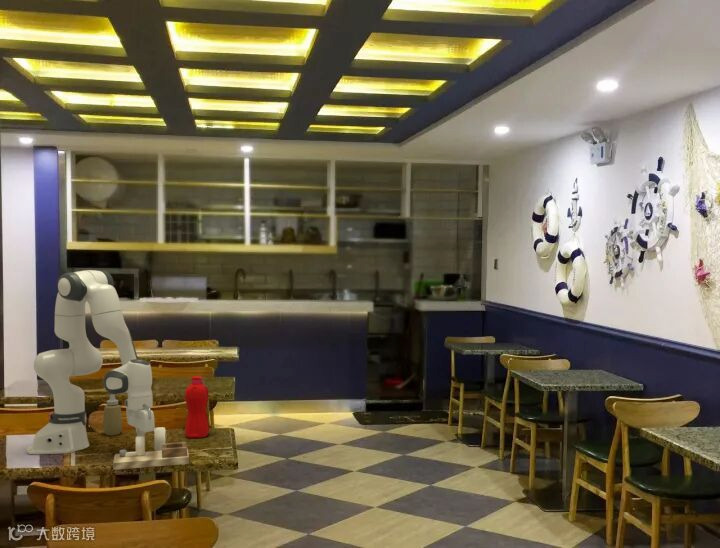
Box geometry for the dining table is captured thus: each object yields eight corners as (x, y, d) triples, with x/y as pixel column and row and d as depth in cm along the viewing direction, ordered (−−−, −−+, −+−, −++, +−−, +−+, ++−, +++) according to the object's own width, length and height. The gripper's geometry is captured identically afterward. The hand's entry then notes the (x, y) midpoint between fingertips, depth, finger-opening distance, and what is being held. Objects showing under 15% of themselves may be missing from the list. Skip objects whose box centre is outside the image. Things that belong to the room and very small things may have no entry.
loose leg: (154, 453, 271) (154, 430, 271) (154, 450, 275) (154, 427, 275) (165, 452, 272) (165, 429, 272) (165, 450, 276) (165, 426, 276)
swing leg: (119, 457, 256) (119, 439, 256) (119, 454, 259) (119, 437, 259) (144, 455, 259) (144, 437, 259) (144, 453, 262) (144, 435, 262)
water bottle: (209, 438, 293) (209, 378, 293) (183, 438, 293) (182, 378, 293) (214, 433, 302) (214, 374, 302) (189, 433, 303) (188, 374, 302)
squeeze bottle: (98, 435, 299) (98, 393, 299) (111, 431, 307) (111, 389, 307) (114, 437, 296) (113, 394, 296) (126, 432, 304) (126, 390, 304)
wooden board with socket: (113, 469, 250) (113, 454, 250) (115, 460, 261) (114, 446, 261) (189, 463, 257) (189, 448, 257) (187, 455, 268) (187, 440, 268)
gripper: (158, 405, 259) (159, 443, 259) (139, 398, 275) (140, 434, 275) (141, 408, 255) (142, 446, 255) (123, 400, 272) (123, 436, 272)
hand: (141, 440), depth 266 cm, fingers closed
